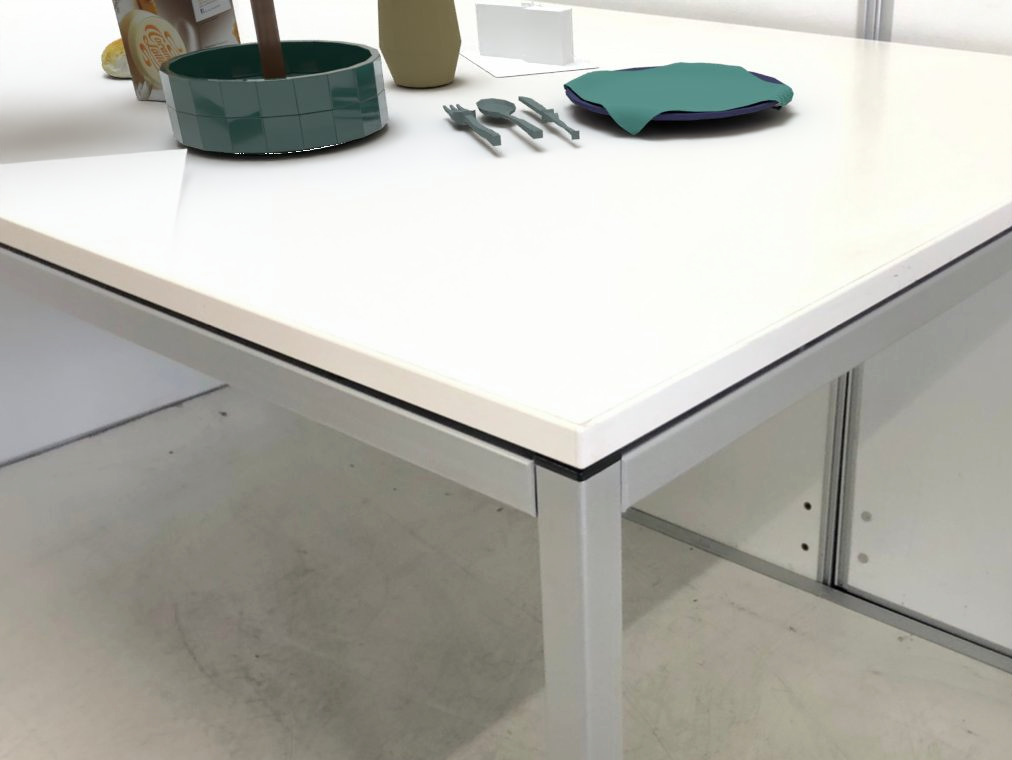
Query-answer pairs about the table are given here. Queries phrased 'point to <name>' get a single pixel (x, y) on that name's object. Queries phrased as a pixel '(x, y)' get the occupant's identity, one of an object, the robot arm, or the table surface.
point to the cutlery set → (645, 97)
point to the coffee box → (170, 35)
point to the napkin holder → (524, 39)
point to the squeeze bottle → (419, 41)
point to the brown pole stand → (268, 38)
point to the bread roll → (115, 60)
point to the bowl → (275, 97)
